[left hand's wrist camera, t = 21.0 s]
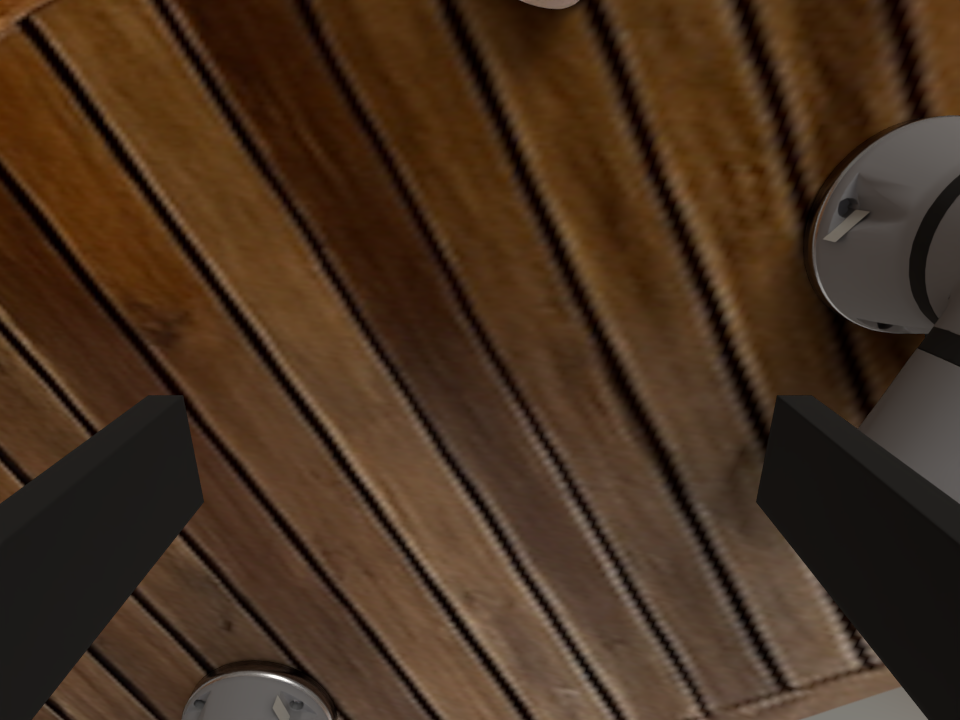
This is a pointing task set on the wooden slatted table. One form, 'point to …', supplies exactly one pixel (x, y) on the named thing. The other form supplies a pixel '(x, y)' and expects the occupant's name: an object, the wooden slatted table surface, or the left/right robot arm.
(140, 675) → the wooden slatted table surface
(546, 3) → the anatomical model
